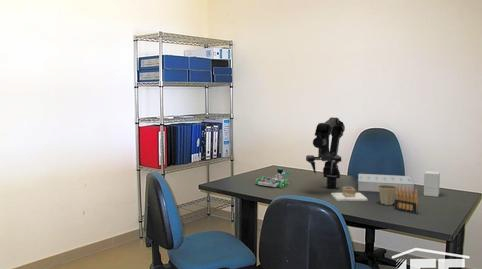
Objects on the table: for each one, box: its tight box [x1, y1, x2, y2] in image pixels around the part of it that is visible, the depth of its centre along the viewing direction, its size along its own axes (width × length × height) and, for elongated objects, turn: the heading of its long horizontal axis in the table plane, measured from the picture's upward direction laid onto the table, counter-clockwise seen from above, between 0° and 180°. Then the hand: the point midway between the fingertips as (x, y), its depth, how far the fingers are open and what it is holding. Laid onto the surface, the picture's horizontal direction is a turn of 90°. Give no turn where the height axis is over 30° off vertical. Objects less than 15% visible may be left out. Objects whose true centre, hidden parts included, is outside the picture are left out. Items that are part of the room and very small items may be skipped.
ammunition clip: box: [393, 185, 419, 215], centre depth 197 cm, size 11×2×12 cm, turn 44°
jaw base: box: [330, 192, 368, 202], centre depth 223 cm, size 13×16×4 cm
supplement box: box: [423, 170, 441, 197], centre depth 229 cm, size 7×7×13 cm
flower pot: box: [378, 185, 397, 206], centre depth 211 cm, size 9×9×9 cm
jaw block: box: [342, 186, 356, 197], centre depth 223 cm, size 7×5×4 cm
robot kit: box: [255, 168, 291, 189], centre depth 257 cm, size 19×25×9 cm
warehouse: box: [357, 173, 415, 195], centre depth 242 cm, size 30×14×8 cm, turn 74°
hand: (323, 173), depth 232 cm, fingers open, 9 cm apart
